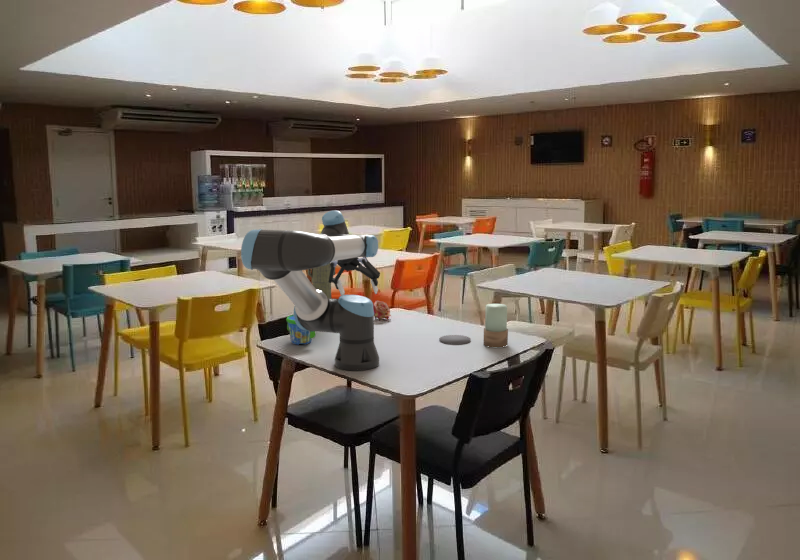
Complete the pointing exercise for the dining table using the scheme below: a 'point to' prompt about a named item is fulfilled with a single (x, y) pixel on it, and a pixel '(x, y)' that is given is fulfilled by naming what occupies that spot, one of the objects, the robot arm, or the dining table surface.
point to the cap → (496, 317)
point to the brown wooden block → (495, 338)
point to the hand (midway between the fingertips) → (359, 293)
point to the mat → (454, 339)
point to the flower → (381, 310)
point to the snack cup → (298, 332)
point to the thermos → (321, 279)
